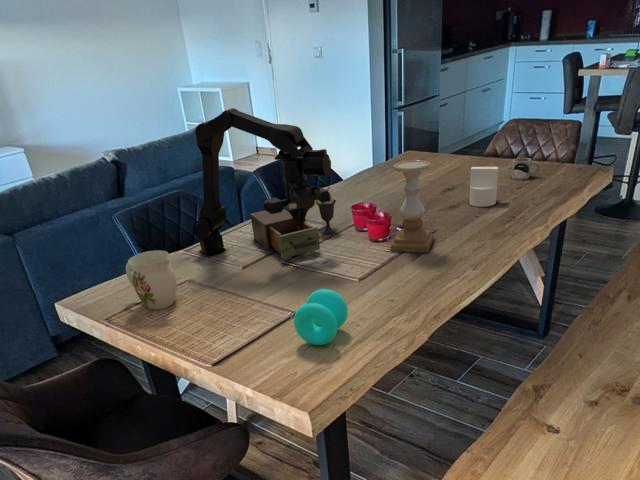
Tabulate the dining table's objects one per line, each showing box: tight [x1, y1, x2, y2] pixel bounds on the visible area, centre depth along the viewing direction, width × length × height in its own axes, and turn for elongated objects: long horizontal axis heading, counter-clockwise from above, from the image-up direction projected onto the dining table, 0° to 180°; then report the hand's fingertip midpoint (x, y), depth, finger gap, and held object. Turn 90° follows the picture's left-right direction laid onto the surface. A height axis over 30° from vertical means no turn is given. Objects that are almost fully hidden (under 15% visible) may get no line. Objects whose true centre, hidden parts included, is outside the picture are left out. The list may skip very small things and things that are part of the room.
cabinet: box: [249, 209, 307, 252], centre depth 183 cm, size 14×14×9 cm
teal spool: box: [293, 288, 349, 346], centre depth 125 cm, size 10×10×10 cm
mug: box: [511, 157, 541, 181], centre depth 219 cm, size 10×7×7 cm, turn 73°
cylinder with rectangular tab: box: [468, 166, 499, 208], centre depth 195 cm, size 9×9×12 cm
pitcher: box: [125, 249, 178, 310], centre depth 148 cm, size 11×18×14 cm, turn 59°
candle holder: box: [390, 159, 434, 253], centre depth 164 cm, size 11×11×24 cm
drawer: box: [267, 220, 321, 259], centre depth 172 cm, size 18×12×7 cm
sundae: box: [315, 186, 337, 235], centre depth 184 cm, size 7×7×15 cm
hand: (300, 229), depth 165 cm, fingers closed
